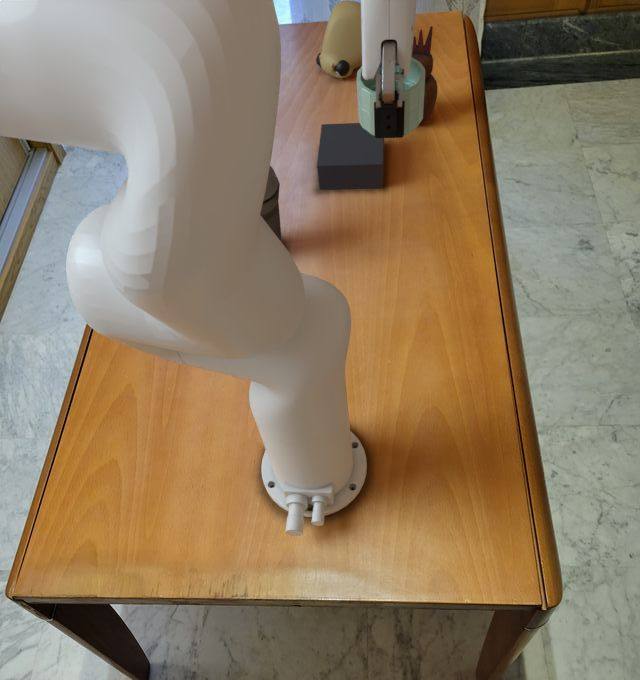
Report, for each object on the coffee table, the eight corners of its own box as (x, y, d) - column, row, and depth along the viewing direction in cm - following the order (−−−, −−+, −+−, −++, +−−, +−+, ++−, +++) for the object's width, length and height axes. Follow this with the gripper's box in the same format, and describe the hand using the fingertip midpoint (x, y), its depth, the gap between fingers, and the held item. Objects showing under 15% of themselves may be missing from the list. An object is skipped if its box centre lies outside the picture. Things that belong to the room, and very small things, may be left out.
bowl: (422, 140, 71) (425, 94, 66) (357, 142, 72) (354, 96, 67) (422, 99, 74) (425, 52, 69) (360, 101, 75) (358, 55, 70)
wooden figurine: (440, 114, 107) (448, 21, 94) (424, 134, 105) (430, 41, 92) (405, 103, 109) (408, 11, 96) (389, 123, 107) (389, 31, 94)
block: (382, 188, 99) (382, 163, 96) (319, 189, 101) (316, 165, 97) (384, 146, 104) (384, 121, 100) (323, 148, 105) (321, 124, 102)
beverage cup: (284, 270, 93) (261, 152, 75) (237, 266, 94) (203, 149, 77) (295, 234, 96) (275, 113, 79) (249, 231, 97) (220, 111, 80)
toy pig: (332, 75, 121) (295, 56, 113) (360, 7, 116) (323, -18, 108) (367, 94, 117) (331, 76, 109) (398, 25, 111) (362, 0, 103)
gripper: (354, -111, 61) (361, 68, 77) (342, -13, 53) (353, 165, 68) (433, -117, 60) (424, 65, 76) (433, -18, 52) (423, 164, 67)
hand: (390, 111), depth 72 cm, fingers closed on bowl, 7 cm apart
